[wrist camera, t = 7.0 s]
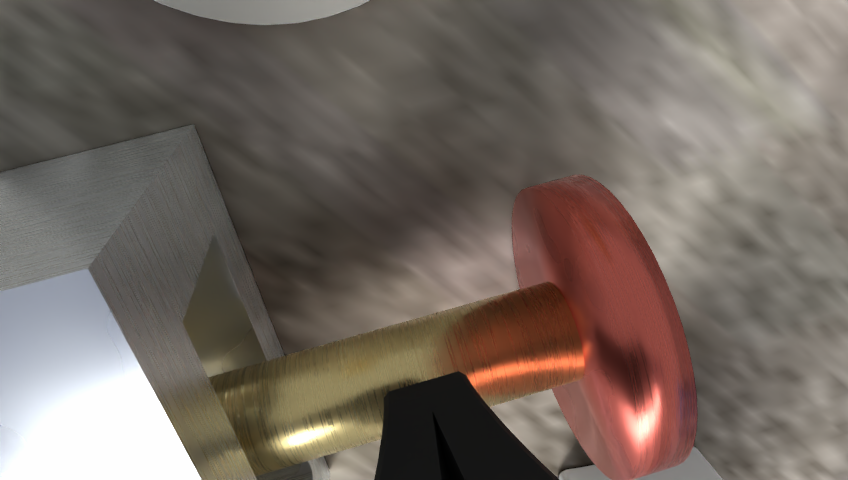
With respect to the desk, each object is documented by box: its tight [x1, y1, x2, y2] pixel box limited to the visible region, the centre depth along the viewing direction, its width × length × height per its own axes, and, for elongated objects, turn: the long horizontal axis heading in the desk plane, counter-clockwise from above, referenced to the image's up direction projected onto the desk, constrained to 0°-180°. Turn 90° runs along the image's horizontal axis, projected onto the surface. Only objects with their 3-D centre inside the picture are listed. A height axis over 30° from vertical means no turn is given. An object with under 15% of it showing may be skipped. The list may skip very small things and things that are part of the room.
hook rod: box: [208, 175, 697, 480], centre depth 11 cm, size 13×6×6 cm, turn 102°
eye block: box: [0, 124, 330, 480], centre depth 11 cm, size 4×10×6 cm, turn 12°
